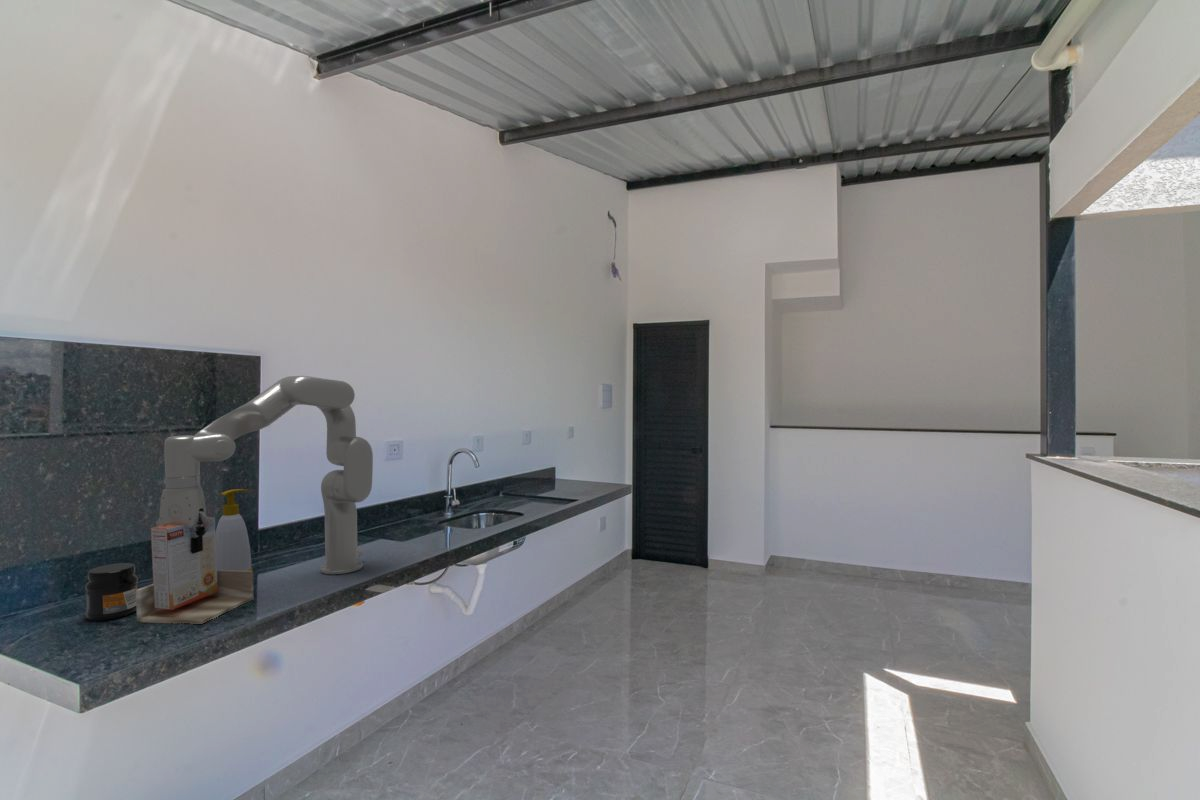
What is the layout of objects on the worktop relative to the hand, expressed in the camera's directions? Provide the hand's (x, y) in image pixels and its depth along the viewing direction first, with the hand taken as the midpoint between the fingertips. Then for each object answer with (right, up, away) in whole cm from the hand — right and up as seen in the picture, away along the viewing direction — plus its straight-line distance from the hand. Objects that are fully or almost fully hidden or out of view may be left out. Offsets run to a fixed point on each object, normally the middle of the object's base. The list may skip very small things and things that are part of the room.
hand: (185, 551), depth 161 cm
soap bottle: (-7, -15, +32) cm, 36 cm away
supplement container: (-17, -16, -3) cm, 23 cm away
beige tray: (+4, -15, 0) cm, 16 cm away
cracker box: (0, -13, 0) cm, 13 cm away
